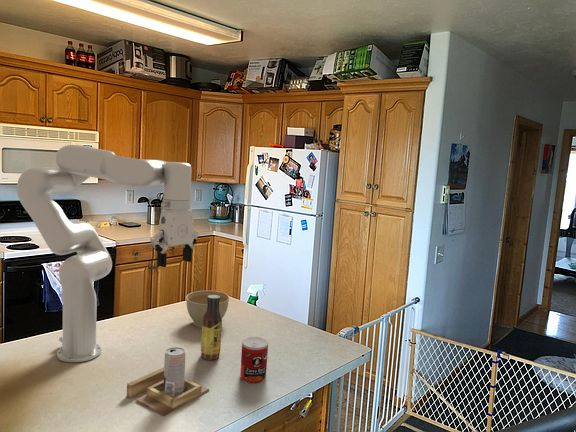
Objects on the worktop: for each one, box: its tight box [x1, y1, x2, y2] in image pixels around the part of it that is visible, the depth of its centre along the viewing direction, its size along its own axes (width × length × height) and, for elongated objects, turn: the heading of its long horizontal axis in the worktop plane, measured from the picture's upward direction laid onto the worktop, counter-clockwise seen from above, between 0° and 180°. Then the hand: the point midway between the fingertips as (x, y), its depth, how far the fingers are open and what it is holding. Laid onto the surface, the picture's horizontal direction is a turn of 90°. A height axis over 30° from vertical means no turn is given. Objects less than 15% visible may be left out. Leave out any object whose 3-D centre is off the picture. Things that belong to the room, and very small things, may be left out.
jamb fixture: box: [126, 366, 210, 417], centre depth 121 cm, size 14×16×4 cm
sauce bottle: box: [200, 295, 223, 361], centre depth 144 cm, size 6×6×20 cm
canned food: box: [240, 336, 269, 385], centre depth 133 cm, size 8×8×11 cm
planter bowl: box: [185, 290, 230, 329], centre depth 171 cm, size 16×16×11 cm
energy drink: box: [163, 346, 186, 398], centre depth 119 cm, size 5×5×12 cm
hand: (174, 263), depth 131 cm, fingers open, 9 cm apart
